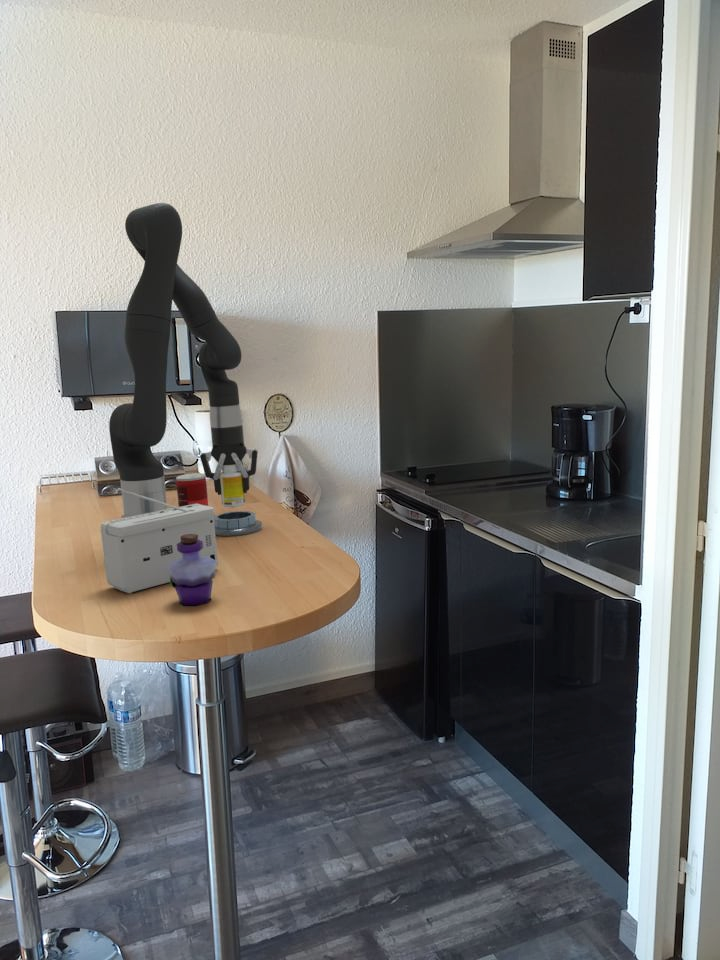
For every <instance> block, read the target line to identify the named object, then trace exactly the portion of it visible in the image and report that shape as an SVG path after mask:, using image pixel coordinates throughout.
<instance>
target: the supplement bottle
mask: <svg viewBox="0 0 720 960" xmlns="http://www.w3.org/2000/svg"><path fill="white" fill-rule="evenodd" d="M219 479H220V487H221V495H220V496H221V504H222V507H224V508H238V507H241V506H244V505H245V503H246V499H245V498H246V496H245V493H244V490H243V475H242V473H241V471H240V470H239V468H238V467H237V465H223V466H222V470H221V473H220V475H219Z"/></svg>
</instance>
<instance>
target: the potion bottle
mask: <svg viewBox="0 0 720 960" xmlns="http://www.w3.org/2000/svg"><path fill="white" fill-rule="evenodd" d="M202 549H203V541H201V540H198V535H196V534H185V535H182V536H181V542H179V543H178V544H177V551H178V552H180V553H182V557H183V558H182V559H179V560H176V561H173V562H172V563H171V564H169V565H168V566H166V567H167V570H168V572H169V575H170V582H169V583H170V585H171V586H172V587H173V588H174V589H175V591H176V594H177V596H178V601H179V604H180V605H181V606H183V607H199V606H201V605H206V604H208V603H209V602H210V601H211V600H212V598H211V597H212V590H213V583H214V582H213V581H214V580H213V579H215V577H216V571H217V570H216V569H217V566H216V563H217V561H216V560H214V559H212V558H210V557H200V555H199V551H200V550H202Z"/></svg>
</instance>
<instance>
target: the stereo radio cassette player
mask: <svg viewBox="0 0 720 960" xmlns="http://www.w3.org/2000/svg"><path fill="white" fill-rule="evenodd" d="M116 490H117V491H119V492H120V491H121V492H122V491H124V490H121V487H118V488H117V489H116ZM124 492H127V493H130V494H132V495H135V496H138V497H140V498H144V499H147V500H150V501H152V502H155V503H158V504H161V505H165V506H167V510H162V511H157V512H152V513H147V514H141V515H136V516H131V517H126V518H121V517H120V518H118V519H117V518H116V519H113V520H107V521H103V522H102V523H101V524H100V533H101V543H102V551H103V559H104V567H105V574H106V581H107V584H108V585H110V587H111V586H112V587H113V588H114V589H117V591H118V590H119V591H121V592H123V593H127V594H129V595H130V594H133V593H135V592H138V591H141V590H145V589H148V588H153V587H157V586H161V585H164V584H168V583H170V575H169V572H168V570H167V567H166V566H168V565H169V564H171V563H172V562H173V561H176V560H179V559H182V558H183V557H182V553H180V552H178V551H177V544H178V543H179V542H181V536H182V535H185V534H196V535H198V540H201V541H203V549H202V550H200V551H199V555H200V557H210V558H212V559H214V560H216V561H217V563H216V567H217V566H218V565H219V564H218V563H219V559H218V551H217V550H218V549H217V539H216V537H217V536H215V526H214V516H215V508H214V507H212V506H210V505H208V506H206V505H205V506H204V505H200V504H192V505H187V506H182V507H179V506H175V505H172V504H169V503H167V504H166V503H163V502H160V501H157V500H154V499H151V498H147V497H144V496H141V495H138V494H135V493H131V492H128V491H124Z"/></svg>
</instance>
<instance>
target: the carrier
mask: <svg viewBox="0 0 720 960" xmlns="http://www.w3.org/2000/svg"><path fill="white" fill-rule="evenodd" d="M256 517H257V516H256V512H254V511H251V510H250V511H249V510H248V511H247V510H238V511H237V510H235V511H227V512H222V513H218V514H216V515H215V514H214V526H215V537H223V538H224V537H225V538H226V537H229V538H230V537H239V536H245V535H246V536H247V535H251V534H254V533H257V532H260V531H261V530H262V529H263V522H262V521H261V520H259V519H257V518H256Z"/></svg>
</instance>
